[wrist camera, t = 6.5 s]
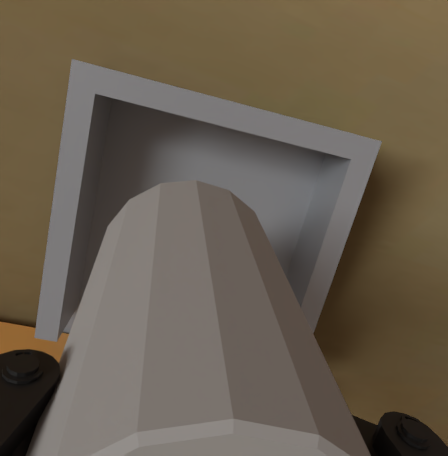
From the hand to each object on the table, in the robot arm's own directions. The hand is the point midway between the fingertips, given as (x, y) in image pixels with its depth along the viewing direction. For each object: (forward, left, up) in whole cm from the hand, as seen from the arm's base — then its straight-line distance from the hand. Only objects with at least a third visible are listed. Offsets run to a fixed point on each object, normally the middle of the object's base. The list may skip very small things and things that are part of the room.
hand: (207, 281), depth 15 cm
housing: (0, -3, -11) cm, 11 cm away
